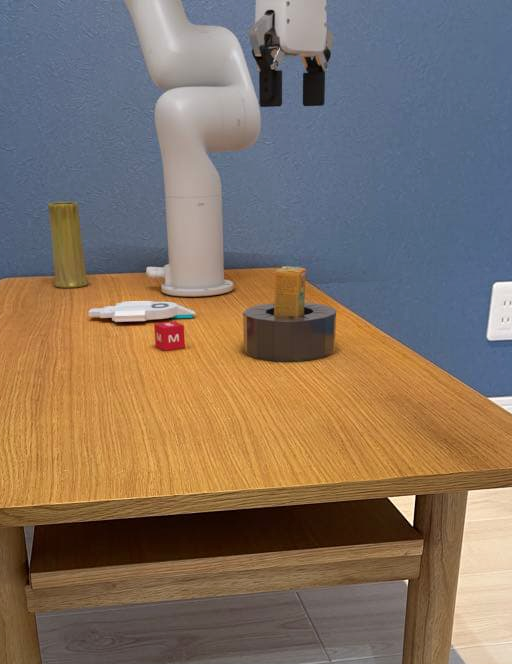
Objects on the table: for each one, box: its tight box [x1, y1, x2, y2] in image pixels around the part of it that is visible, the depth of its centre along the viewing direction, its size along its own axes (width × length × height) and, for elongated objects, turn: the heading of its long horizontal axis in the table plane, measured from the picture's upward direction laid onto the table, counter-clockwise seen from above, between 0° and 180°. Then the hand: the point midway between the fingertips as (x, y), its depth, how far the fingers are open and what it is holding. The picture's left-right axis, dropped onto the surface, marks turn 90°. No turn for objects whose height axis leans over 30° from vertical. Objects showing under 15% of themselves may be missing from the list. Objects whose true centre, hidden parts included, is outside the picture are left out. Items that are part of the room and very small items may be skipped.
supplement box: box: [274, 265, 307, 316], centre depth 108 cm, size 3×3×10 cm
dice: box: [153, 320, 186, 352], centre depth 113 cm, size 3×3×3 cm
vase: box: [47, 201, 89, 289], centre depth 155 cm, size 6×6×14 cm
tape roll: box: [242, 301, 337, 363], centre depth 109 cm, size 12×12×5 cm
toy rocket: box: [88, 300, 196, 323], centre depth 130 cm, size 16×10×2 cm, turn 88°
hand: (292, 106), depth 112 cm, fingers open, 9 cm apart
